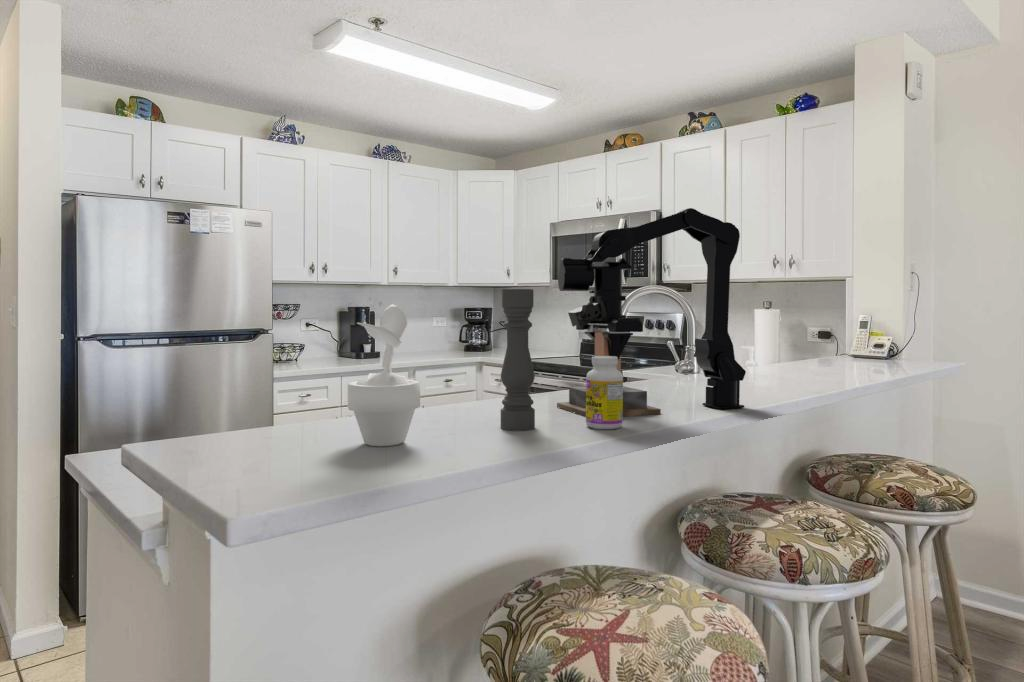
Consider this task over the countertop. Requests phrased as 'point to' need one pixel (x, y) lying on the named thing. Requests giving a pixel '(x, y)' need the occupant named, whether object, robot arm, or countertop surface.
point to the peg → (603, 347)
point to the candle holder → (517, 361)
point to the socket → (631, 402)
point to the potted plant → (385, 388)
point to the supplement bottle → (604, 394)
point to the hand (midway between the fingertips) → (607, 365)
